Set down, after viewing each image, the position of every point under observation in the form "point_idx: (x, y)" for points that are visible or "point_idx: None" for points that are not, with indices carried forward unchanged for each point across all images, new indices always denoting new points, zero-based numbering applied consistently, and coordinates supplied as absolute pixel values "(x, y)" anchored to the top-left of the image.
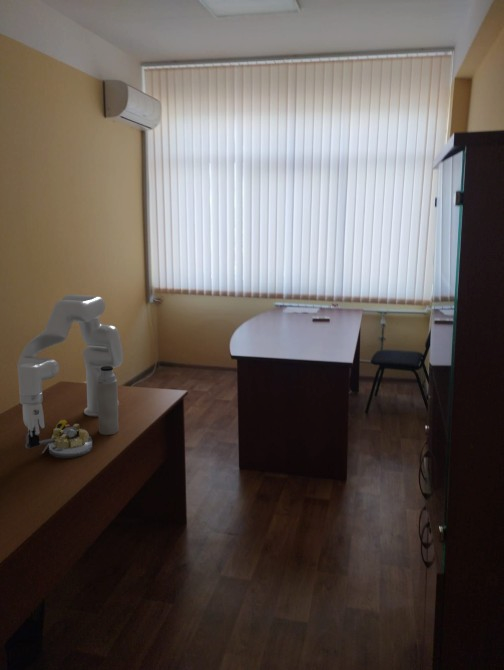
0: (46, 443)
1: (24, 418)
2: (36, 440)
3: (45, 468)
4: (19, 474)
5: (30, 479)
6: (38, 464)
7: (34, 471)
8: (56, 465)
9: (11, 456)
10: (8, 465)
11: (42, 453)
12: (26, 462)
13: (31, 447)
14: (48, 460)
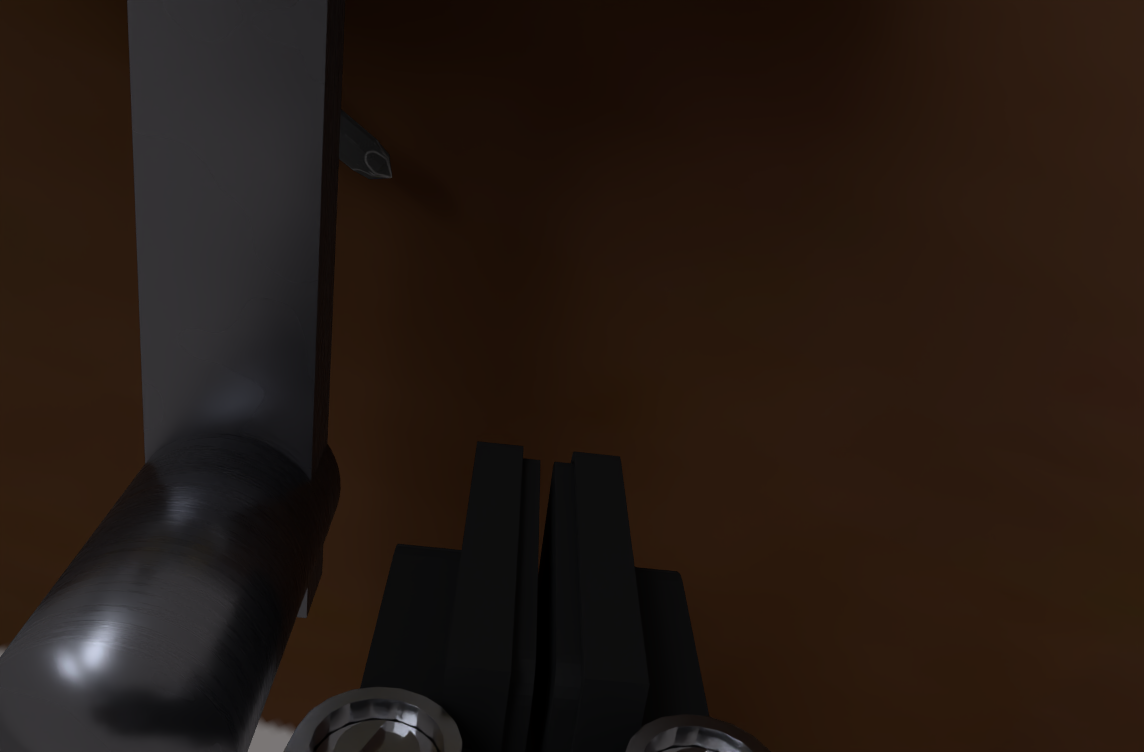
0: (335, 57)
1: None
2: (685, 670)
3: (942, 316)
4: (801, 702)
5: (1098, 650)
6: (679, 343)
7: (892, 505)
8: (1003, 87)
9: (4, 566)
10: None
11: (359, 134)
12: (437, 470)
13: (338, 487)
14: (650, 109)
